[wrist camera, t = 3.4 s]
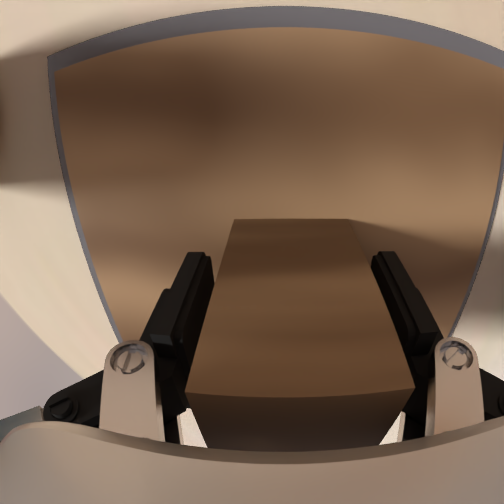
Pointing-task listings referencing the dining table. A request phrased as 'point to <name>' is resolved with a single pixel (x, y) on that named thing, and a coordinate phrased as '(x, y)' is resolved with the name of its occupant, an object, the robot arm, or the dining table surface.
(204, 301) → the robot arm
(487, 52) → the mat
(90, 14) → the dining table surface
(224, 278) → the cover
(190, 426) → the dining table surface
